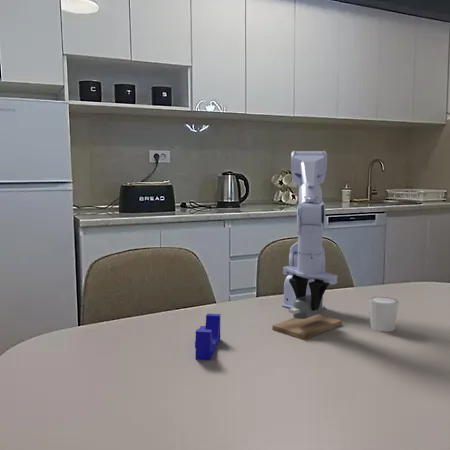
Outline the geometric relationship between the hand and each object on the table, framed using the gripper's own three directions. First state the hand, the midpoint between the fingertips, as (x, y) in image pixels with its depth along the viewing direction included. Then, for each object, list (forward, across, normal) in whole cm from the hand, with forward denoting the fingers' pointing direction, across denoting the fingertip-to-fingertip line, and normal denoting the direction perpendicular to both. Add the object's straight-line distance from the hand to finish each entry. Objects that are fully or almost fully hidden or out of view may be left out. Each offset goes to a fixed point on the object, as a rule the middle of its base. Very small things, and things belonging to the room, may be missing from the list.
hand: (308, 307), depth 113 cm
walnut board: (+5, 0, 0) cm, 5 cm away
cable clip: (+5, -7, -27) cm, 29 cm away
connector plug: (+2, 0, 0) cm, 2 cm away
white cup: (+5, +13, +13) cm, 19 cm away
